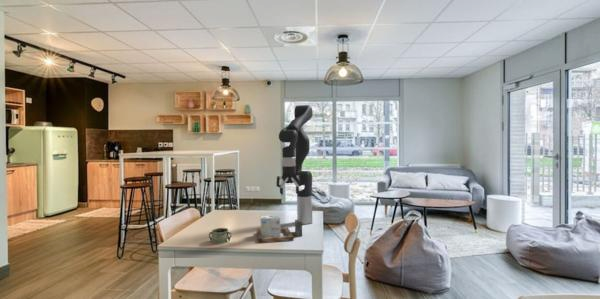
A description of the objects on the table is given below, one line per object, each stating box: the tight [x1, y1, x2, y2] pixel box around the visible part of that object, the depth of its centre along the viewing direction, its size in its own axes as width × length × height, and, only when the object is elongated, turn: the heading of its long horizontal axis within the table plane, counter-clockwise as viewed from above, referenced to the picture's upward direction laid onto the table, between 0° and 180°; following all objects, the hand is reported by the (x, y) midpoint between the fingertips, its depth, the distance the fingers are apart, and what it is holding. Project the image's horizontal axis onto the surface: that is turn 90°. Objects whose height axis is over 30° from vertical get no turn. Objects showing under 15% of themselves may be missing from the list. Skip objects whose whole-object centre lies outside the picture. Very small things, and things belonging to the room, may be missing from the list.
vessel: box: [208, 227, 233, 245], centre depth 163 cm, size 12×9×6 cm
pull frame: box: [256, 219, 303, 244], centre depth 171 cm, size 24×18×8 cm
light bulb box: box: [260, 214, 281, 238], centre depth 173 cm, size 11×7×11 cm, turn 101°
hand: (289, 193), depth 177 cm, fingers open, 8 cm apart
